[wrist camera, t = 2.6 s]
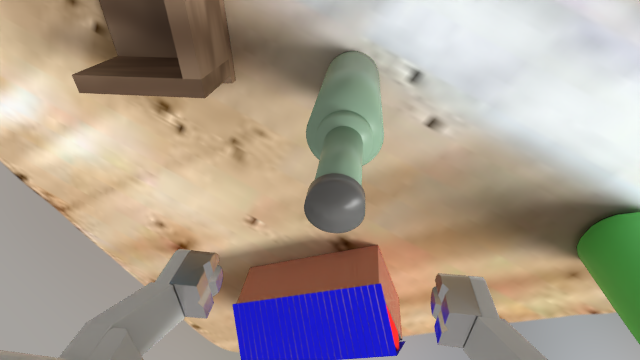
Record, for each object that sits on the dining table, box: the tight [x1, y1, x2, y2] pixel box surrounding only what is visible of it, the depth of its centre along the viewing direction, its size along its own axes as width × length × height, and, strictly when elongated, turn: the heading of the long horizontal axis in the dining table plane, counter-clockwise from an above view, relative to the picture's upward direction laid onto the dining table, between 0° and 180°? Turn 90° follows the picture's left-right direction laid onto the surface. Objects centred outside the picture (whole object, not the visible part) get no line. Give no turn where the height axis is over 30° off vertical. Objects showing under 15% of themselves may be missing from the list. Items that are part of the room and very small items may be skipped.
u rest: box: [72, 0, 236, 98], centre depth 27 cm, size 11×11×7 cm
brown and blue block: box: [233, 245, 405, 360], centre depth 44 cm, size 12×20×12 cm, turn 111°
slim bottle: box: [304, 51, 384, 233], centre depth 23 cm, size 5×5×20 cm
